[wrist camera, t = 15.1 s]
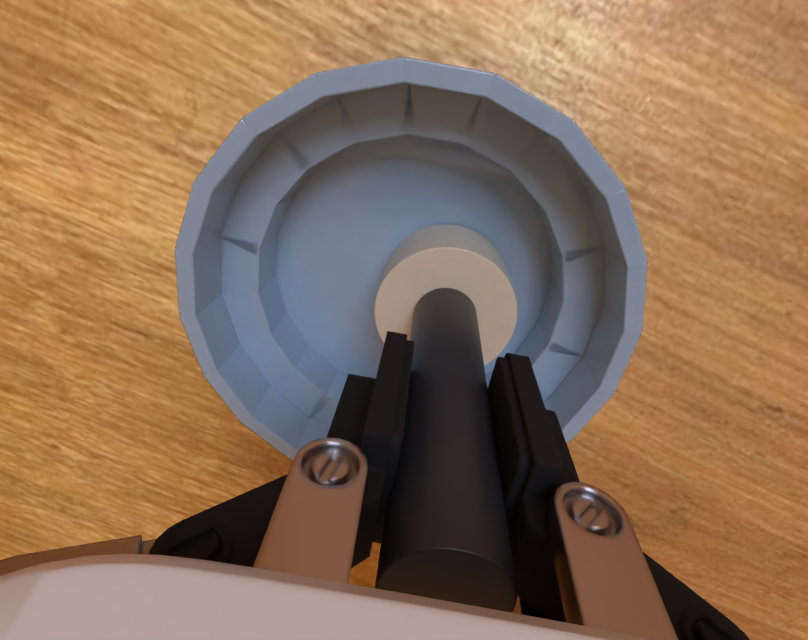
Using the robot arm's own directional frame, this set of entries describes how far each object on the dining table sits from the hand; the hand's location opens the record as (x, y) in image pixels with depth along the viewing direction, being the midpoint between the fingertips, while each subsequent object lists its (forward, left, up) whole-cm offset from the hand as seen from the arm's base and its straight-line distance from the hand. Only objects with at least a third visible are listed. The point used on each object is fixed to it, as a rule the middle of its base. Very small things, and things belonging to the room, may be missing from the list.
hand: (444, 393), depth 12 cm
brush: (0, 0, -8) cm, 8 cm away
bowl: (+1, 0, -9) cm, 9 cm away
